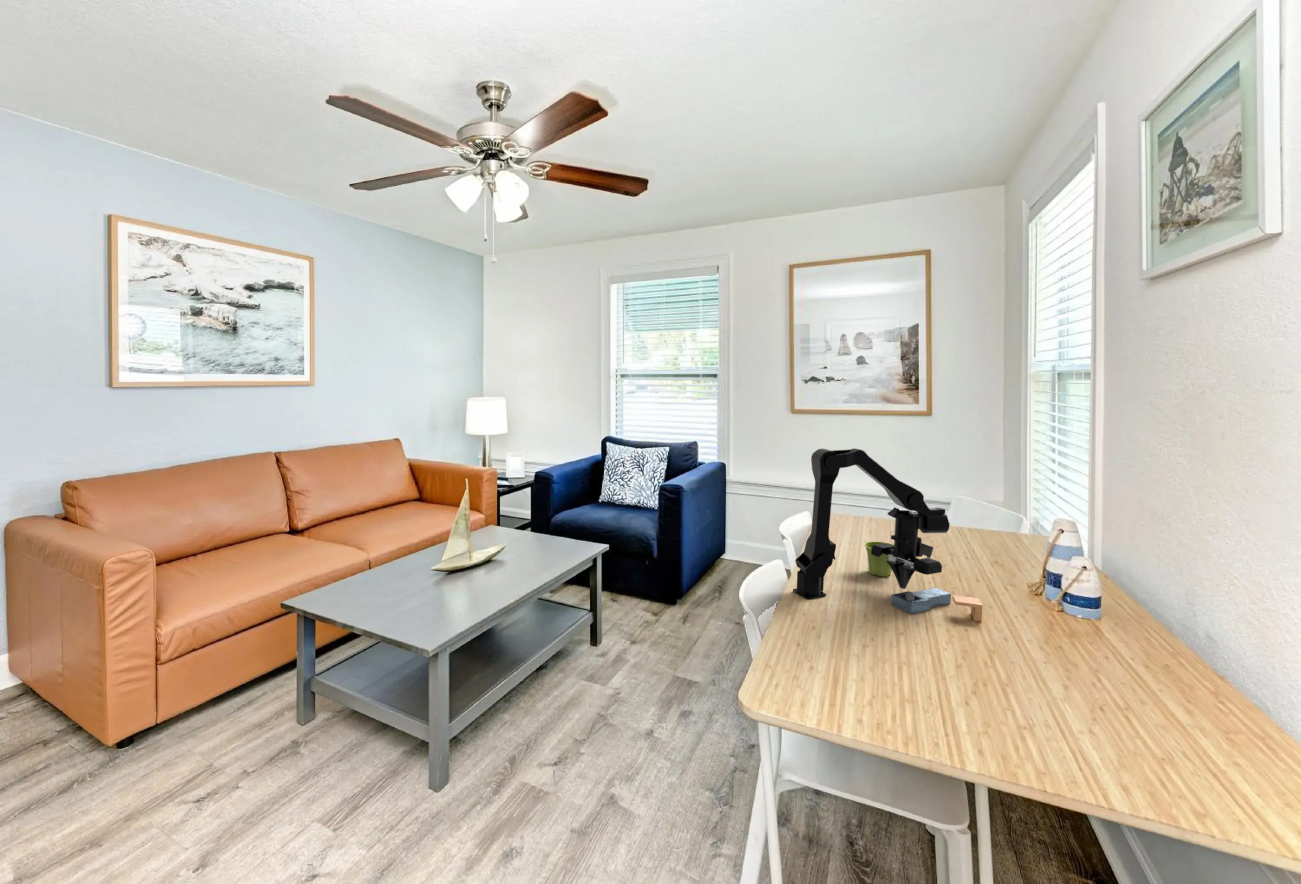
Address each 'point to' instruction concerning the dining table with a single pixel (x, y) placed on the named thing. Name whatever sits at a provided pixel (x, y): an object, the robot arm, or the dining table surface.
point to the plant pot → (878, 561)
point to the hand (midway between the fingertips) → (903, 588)
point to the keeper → (970, 605)
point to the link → (921, 600)
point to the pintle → (910, 596)
